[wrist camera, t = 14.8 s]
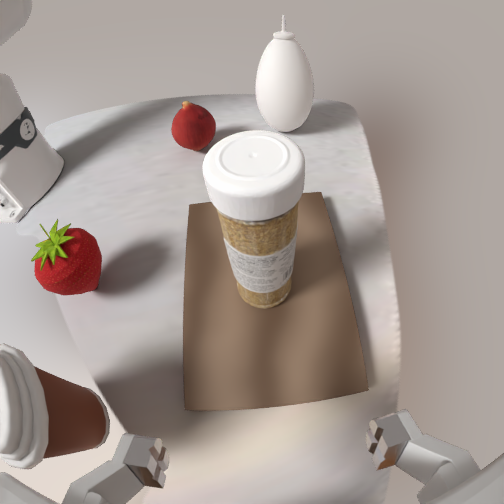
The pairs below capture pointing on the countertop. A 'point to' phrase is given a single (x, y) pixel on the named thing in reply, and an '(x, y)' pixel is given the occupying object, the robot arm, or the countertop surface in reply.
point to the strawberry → (68, 261)
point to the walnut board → (268, 322)
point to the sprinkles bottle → (257, 209)
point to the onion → (193, 126)
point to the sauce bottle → (284, 83)
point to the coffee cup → (44, 413)
